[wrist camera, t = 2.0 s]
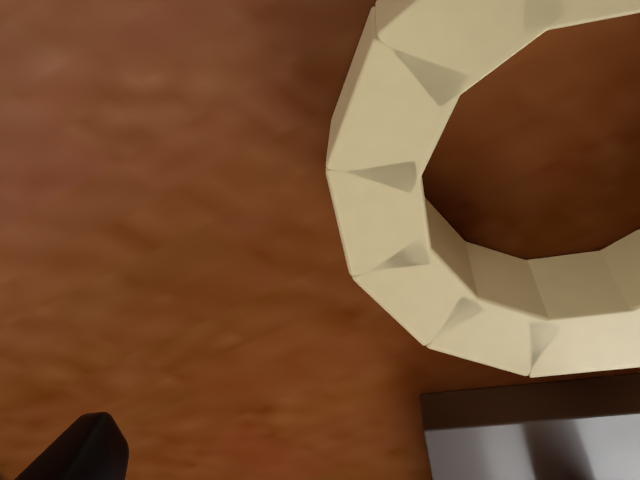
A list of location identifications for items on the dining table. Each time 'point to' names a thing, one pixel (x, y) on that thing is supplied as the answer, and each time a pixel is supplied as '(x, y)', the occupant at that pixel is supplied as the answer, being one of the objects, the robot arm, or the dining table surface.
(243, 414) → the dining table surface
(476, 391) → the stand
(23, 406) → the dining table surface
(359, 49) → the tape
